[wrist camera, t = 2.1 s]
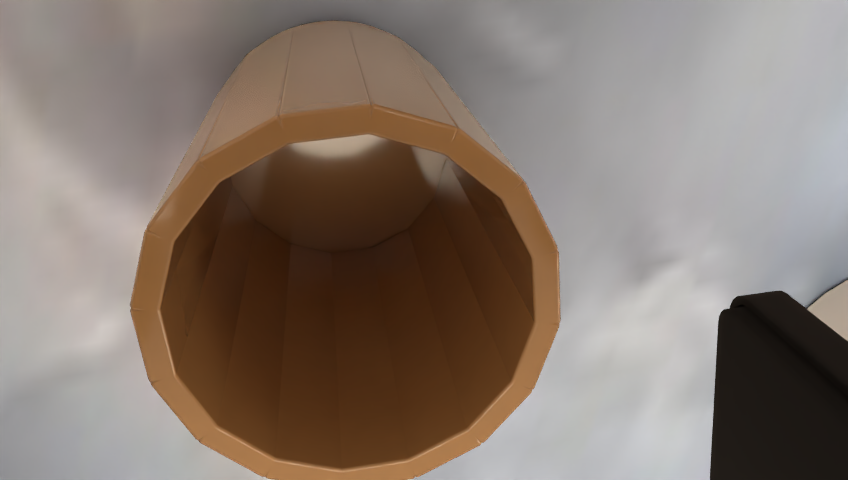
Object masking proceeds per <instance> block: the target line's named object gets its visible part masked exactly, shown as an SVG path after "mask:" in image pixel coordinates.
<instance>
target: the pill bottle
mask: <svg viewBox="0 0 848 480" xmlns="http://www.w3.org/2000/svg"><path fill="white" fill-rule="evenodd" d="M807 310H808V311H810V312H811V313H812V314H814V315H815V316H816V317H817V318H819V319H820V320H821V321H822V322H824V323H825V324H826V325H828V326H829V327H830V328H831V329H833V330H834V331H835V332H837V333H838V334H839V335H840V336H842V337H843V338H844V339H845V340H847V341H848V280H846V281H845V282H843V283H841V284H840V285H838V286H837V287H835V288H833V289H832V290H830V291H828V292H827V293H825V294H824V295H823V296H822V297H820V298H819V299H818V300H817V301H816V302H814V303H813V304H812V305H811V306H810V307H808V308H807Z"/></svg>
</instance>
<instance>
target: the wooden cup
mask: <svg viewBox="0 0 848 480" xmlns="http://www.w3.org/2000/svg"><path fill="white" fill-rule="evenodd" d="M130 307H131V310H130V312H131V316H132V320H133V323H134V327H135V331H136V335H137V338H138V342H139V346H140V350H141V353H142V357H143V361H144V365H145V368H146V372H147V376H148V379H149V381H150V382H151V385H152V386H153V388H154V389H155V390H156V391H157V393H158V394H159V395H160V396H161V397H162V399H163V400H164V401H165V402H166V403H167V405H168V406H169V407H170V408H171V410H172V411H173V412H174V413H175V414H176V416H177V417H178V418H179V419H180V420H181V422H182V423H183V424H184V425H185V426H186V428H187V429H188V430H189V431H190V433H191V434H192V435H193V436H194V437H195V439H197V440H199V442H200V443H202V444H203V445H205V446H207V447H209V448H211V449H213V450H214V451H216V452H218V453H220V454H222V455H224V456H225V457H227V458H229V459H231V460H233V461H234V462H236V463H238V464H240V465H242V466H244V467H245V468H247V469H249V470H251V471H253V472H255V473H256V474H258V475H260V476H262V477H265V476H266V478H268V479H274V480H408V479H413V478H414V477H419V476H421V475H423V474H425V473H427V472H429V471H431V470H433V469H435V468H436V467H438V466H440V465H442V464H444V463H446V462H448V461H450V460H452V459H454V458H456V457H458V456H460V455H462V454H464V453H466V452H468V451H470V450H472V449H473V448H475V447H477V446H479V445H480V444H481V442H482V443H483V442H485V441H486V440H487V439H488V438H489V436H490V435H491V434H492V433H493V432H494V431H495V430H496V429H497V428H498V427H499V426H500V425H501V424H502V423H503V422H504V421H505V420H506V419H507V418H508V416H509V415H510V414H511V413H512V412H513V411H514V410H515V409H516V408H517V407H518V406H519V405H520V404H521V403H522V402H523V401H524V400H525V399H526V398H527V396H528V395H529V394H530V393H531V392H532V389H534V387H535V385H536V382H537V380H538V377H539V375H540V372H541V370H542V367H543V365H544V362H545V360H546V358H547V355H548V353H549V350H550V348H551V345H552V343H553V340H554V338H555V335H556V333H557V331H558V328H559V323H560V320H561V317H560V279H559V252H558V250H557V245H556V243H555V241H554V239H553V237H552V235H551V233H550V231H549V229H548V227H547V225H546V223H545V221H544V219H543V217H542V215H541V213H540V211H539V209H538V207H537V205H536V203H535V201H534V199H533V197H532V195H531V193H530V191H529V189H528V187H527V185H526V183H525V181H524V180H523V179H522V178H521V176H520V175H519V174H518V172H517V171H516V170H515V169H514V167H513V166H512V165H511V163H510V162H509V161H508V160H507V158H506V157H505V156H504V155H503V153H502V152H501V151H500V149H499V148H498V147H497V146H496V144H495V143H494V142H493V140H492V139H491V138H490V137H489V135H488V134H487V133H486V132H485V130H484V129H483V128H482V126H481V125H480V124H479V123H478V121H477V120H476V119H475V117H474V116H473V115H472V114H471V112H470V111H469V110H468V109H467V107H466V106H465V105H464V103H463V102H462V101H461V100H460V98H459V97H458V96H457V94H456V93H455V92H454V91H453V89H452V88H451V87H450V85H449V84H448V83H447V82H446V80H445V79H444V78H443V77H442V75H441V74H440V73H439V71H438V70H437V69H436V68H435V67H434V66H433V65H432V64H431V63H429V62H428V61H427V60H426V59H425V58H424V57H423V56H421V55H420V54H419V53H418V52H417V51H416V50H415V49H414V48H412V47H411V46H410V45H408V44H407V43H405V42H404V41H403V40H402V39H400V38H399V37H397V36H395V35H393V34H390V33H388V32H386V31H383V30H381V29H378V28H375V27H373V26H370V25H365V24H361V23H356V22H349V21H338V20H336V21H318V22H313V23H307V24H302V25H299V26H296V27H293V28H290V29H287V30H285V31H283V32H281V33H279V34H277V35H274V36H272V37H271V38H269V39H268V40H266V41H265V42H263V43H262V44H260V45H259V46H257V47H256V48H255V49H253V50H252V51H250V52H249V54H246V56H245V57H244V59H243V60H242V61H241V63H240V64H239V65H238V66H237V67H236V69H235V70H234V71H233V73H232V74H231V76H230V77H229V79H228V80H227V82H226V83H225V84H224V86H223V87H222V88H221V90H220V91H219V92H218V94H217V96H216V98H215V100H214V102H213V104H212V105H211V107H210V109H209V111H208V113H207V115H206V117H205V119H204V120H203V122H202V124H201V126H200V128H199V130H198V132H197V134H196V135H195V137H194V139H193V141H192V143H191V145H190V147H189V148H188V150H187V152H186V154H185V156H184V158H183V160H182V162H181V163H180V165H179V167H178V169H177V171H176V173H175V175H174V177H173V178H172V180H171V182H170V184H169V186H168V188H167V190H166V192H165V193H164V195H163V197H162V199H161V201H160V203H159V205H158V207H157V208H156V210H155V212H154V214H153V216H152V218H151V220H150V221H149V223H148V225H147V228H146V230H145V232H144V236H143V241H142V247H141V252H140V257H139V262H138V267H137V272H136V277H135V282H134V287H133V292H132V297H131V302H130Z"/></svg>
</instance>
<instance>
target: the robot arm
mask: <svg viewBox="0 0 848 480" xmlns="http://www.w3.org/2000/svg"><path fill="white" fill-rule="evenodd" d="M710 480H848V341H847V340H845V339H844V338H843V337H842V336H840V335H839V334H838V333H837V332H835V331H834V330H833V329H831V328H830V327H829V326H828V325H826V324H825V323H824V322H822V321H821V320H820V319H819V318H817V317H816V316H815V315H814V314H812V313H811V312H810V311H808V310H807V309H806V308H805V307H803V306H802V305H801V304H799V303H798V302H797V301H796V300H794V299H793V298H792V297H790V296H789V295H788V294H787V293H785V292H783V291H772V292H765V293H758V294H751V295H744V296H737V297H736V298H735V299H733V301H732V303H731V306H730V309H724V310H723V311H722V312H721V314H720V316H719V322H718V339H717V358H716V376H715V395H714V413H713V432H712V450H711V469H710Z"/></svg>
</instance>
